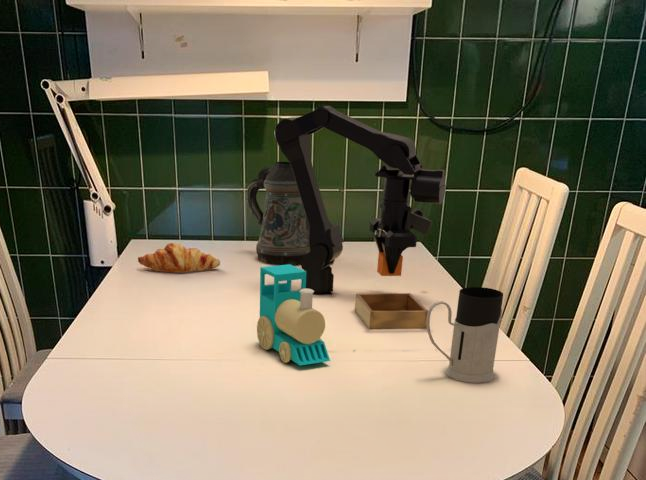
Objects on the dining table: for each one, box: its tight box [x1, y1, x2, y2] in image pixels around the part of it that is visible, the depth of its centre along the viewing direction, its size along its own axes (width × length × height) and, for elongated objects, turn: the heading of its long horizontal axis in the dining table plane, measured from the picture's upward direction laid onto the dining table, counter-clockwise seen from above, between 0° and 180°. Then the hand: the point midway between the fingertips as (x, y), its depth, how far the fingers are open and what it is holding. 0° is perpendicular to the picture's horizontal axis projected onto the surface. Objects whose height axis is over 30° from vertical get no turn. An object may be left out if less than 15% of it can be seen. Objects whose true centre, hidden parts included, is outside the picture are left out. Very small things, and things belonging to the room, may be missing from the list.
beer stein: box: [246, 161, 310, 267], centre depth 221 cm, size 16×19×25 cm
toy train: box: [256, 264, 331, 366], centre depth 153 cm, size 8×17×15 cm, turn 28°
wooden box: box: [354, 292, 429, 330], centre depth 176 cm, size 12×14×4 cm
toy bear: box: [376, 251, 404, 277], centre depth 186 cm, size 5×4×8 cm
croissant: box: [137, 242, 221, 273], centre depth 212 cm, size 21×10×8 cm
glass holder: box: [426, 286, 504, 384], centre depth 145 cm, size 9×14×15 cm, turn 107°
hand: (389, 271), depth 187 cm, fingers closed on toy bear, 4 cm apart
